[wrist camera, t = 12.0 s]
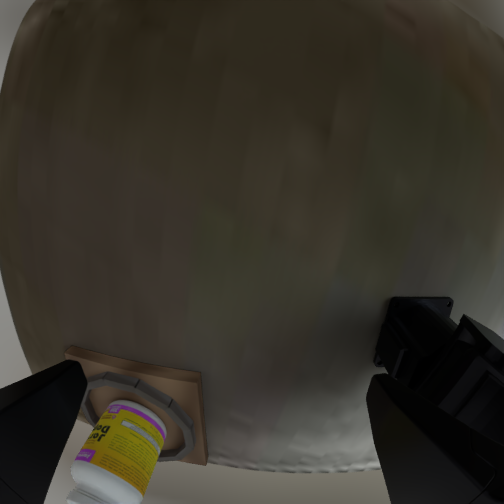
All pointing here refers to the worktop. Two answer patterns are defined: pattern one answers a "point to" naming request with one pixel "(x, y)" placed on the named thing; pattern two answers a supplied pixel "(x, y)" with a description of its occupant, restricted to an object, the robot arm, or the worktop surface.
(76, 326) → the worktop surface
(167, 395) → the locating board
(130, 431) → the supplement bottle
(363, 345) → the worktop surface
